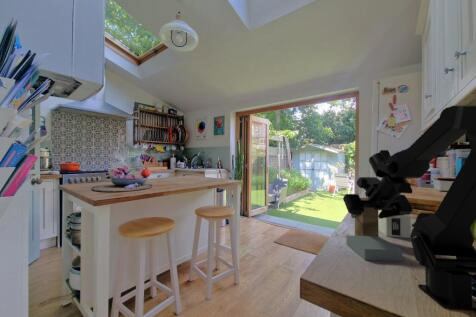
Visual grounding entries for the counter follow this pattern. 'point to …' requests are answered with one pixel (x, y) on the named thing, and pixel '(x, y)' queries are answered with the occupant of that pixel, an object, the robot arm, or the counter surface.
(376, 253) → the plinth
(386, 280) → the counter surface
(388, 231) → the container
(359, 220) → the post
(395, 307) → the counter surface
